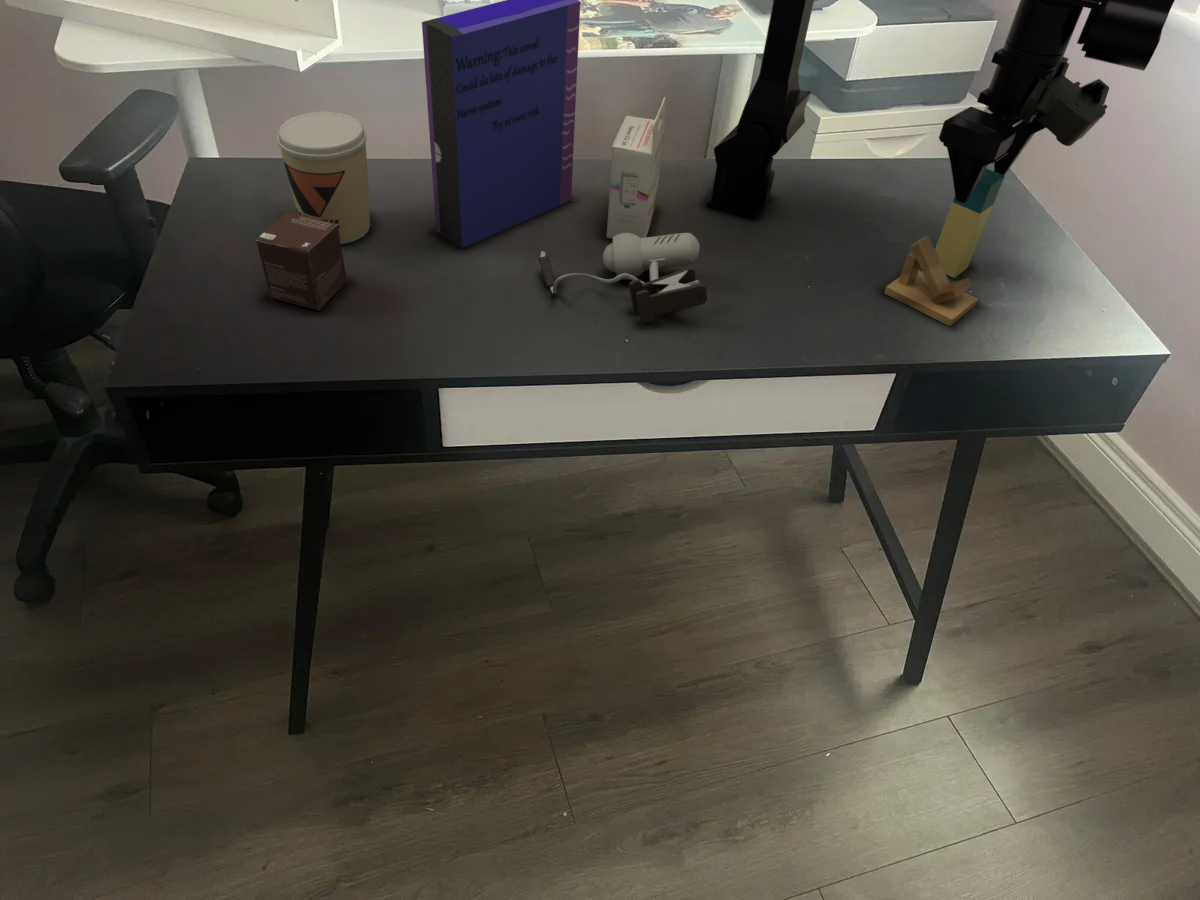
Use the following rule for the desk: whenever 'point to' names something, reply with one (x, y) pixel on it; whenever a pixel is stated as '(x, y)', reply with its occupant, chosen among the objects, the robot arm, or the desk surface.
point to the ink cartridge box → (635, 174)
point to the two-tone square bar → (967, 224)
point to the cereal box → (501, 114)
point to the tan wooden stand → (930, 286)
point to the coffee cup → (328, 170)
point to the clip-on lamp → (650, 254)
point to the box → (302, 260)
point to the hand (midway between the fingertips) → (980, 188)
